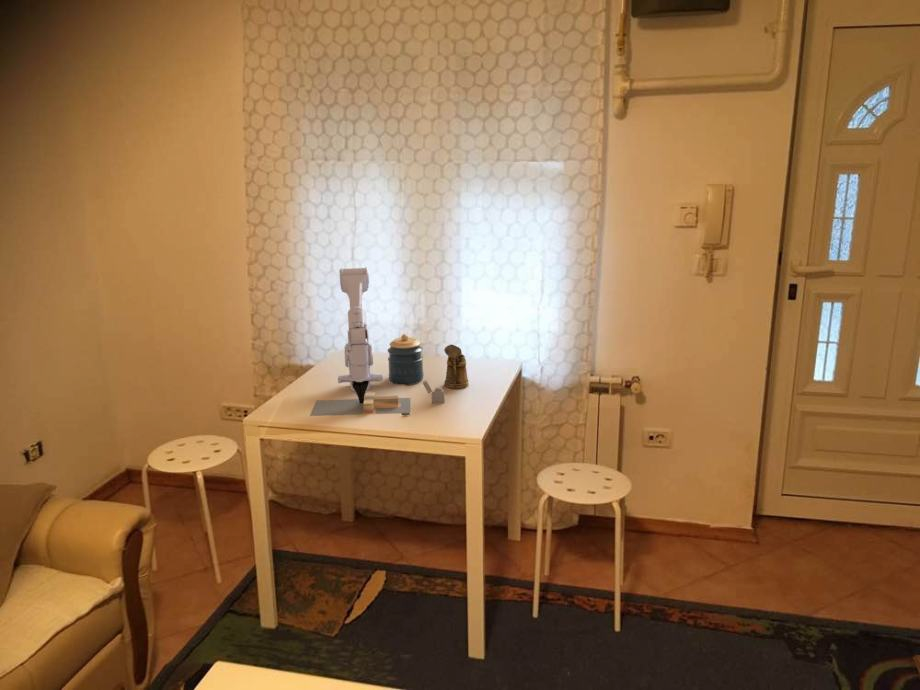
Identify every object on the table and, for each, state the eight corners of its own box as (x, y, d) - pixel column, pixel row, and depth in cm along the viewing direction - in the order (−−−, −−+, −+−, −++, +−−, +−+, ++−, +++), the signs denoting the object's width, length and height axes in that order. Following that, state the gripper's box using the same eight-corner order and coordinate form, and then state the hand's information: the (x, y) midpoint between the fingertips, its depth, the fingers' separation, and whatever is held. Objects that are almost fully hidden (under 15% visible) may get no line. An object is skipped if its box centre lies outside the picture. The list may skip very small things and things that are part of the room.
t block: (366, 399, 236) (366, 391, 235) (399, 399, 236) (398, 390, 235) (363, 413, 224) (363, 404, 223) (397, 411, 225) (397, 403, 224)
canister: (409, 387, 250) (407, 340, 245) (381, 381, 257) (379, 335, 252) (430, 377, 260) (429, 332, 255) (403, 372, 267) (401, 328, 262)
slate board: (316, 403, 236) (316, 400, 236) (410, 400, 238) (410, 397, 237) (310, 418, 223) (309, 415, 223) (409, 415, 224) (409, 412, 224)
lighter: (444, 401, 236) (443, 379, 234) (444, 403, 235) (443, 381, 232) (423, 402, 236) (422, 380, 233) (423, 404, 234) (422, 381, 232)
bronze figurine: (439, 393, 244) (438, 344, 239) (447, 380, 257) (446, 334, 252) (464, 394, 243) (463, 345, 238) (470, 381, 255) (470, 334, 250)
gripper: (335, 367, 222) (338, 407, 225) (381, 366, 222) (383, 406, 226) (338, 361, 228) (340, 399, 232) (382, 360, 229) (384, 398, 233)
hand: (361, 402), depth 230 cm, fingers closed
